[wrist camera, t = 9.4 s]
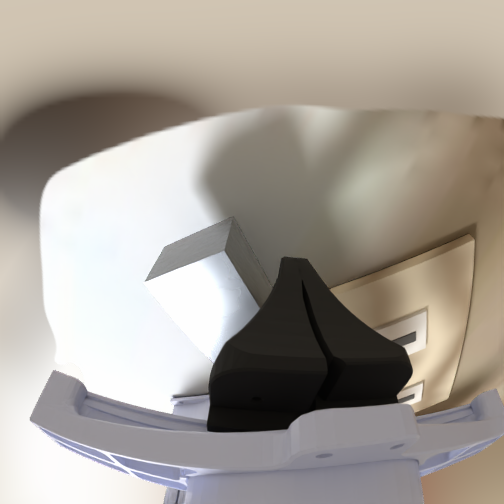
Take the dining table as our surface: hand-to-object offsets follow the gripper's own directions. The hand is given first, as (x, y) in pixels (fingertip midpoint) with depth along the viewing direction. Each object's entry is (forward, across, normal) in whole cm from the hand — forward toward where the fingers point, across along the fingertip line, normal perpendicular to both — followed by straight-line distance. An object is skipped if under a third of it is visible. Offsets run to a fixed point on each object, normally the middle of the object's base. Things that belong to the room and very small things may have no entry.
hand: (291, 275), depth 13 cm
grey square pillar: (+3, 0, +6) cm, 7 cm away
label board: (+4, -12, +14) cm, 19 cm away
